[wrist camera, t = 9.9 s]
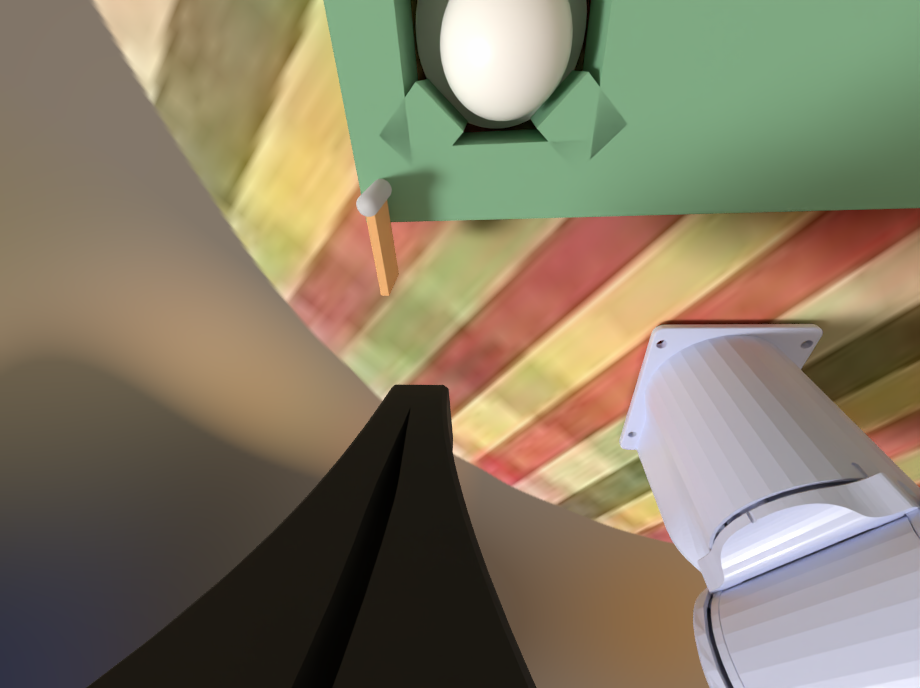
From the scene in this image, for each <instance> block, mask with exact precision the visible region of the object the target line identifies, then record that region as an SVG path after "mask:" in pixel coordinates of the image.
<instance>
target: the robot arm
mask: <svg viewBox="0 0 920 688" xmlns="http://www.w3.org/2000/svg"><path fill="white" fill-rule="evenodd" d="M822 334H823V330H822V329H821V328H820V327H818V326H817V325H815V324H671V325H660V326H657V327H656V328H655V329H654V330H653V331H652V334H651V337H650V340H649V344H648V347H647V350H646V354H645V357H644V360H643V364H642V367H641V370H640V374H639V377H638V380H637V384H636V387H635V390H634V394H633V397H632V400H631V404H630V407H629V410H628V414H627V417H626V420H625V424H624V427H623V430H622V434H621V437H620V440H619V443H620V446H621V447H622V448H623V449H627V450H637V452H638V454H639V457H640V460H641V462H642V465H643V468H644V470H645V473H646V476H647V478H648V481H649V484H650V486H651V489H652V492H653V494H654V497H655V500H656V502H657V505H658V508H659V510H660V513H661V516H662V518H663V521H664V524H665V526H666V529H667V531H668V533H669V536H670V538H671V539H672V541H673V543H674V544H675V546H676V547H677V548H678V550H679V551H680V552H681V553H682V554H683V556H684V557H685V558H686V559H687V560H688V561H689V562H690V563H691V564H692V565H693V566H695V567H696V568H697V569H698V570H699V571H701V572H702V575H703V577H704V580H705V582H706V584H707V587H708V588H706V589H705V590H704V591H702V592H701V593H700V595H699V596H698V598H697V600H696V602H695V606H694V611H693V612H694V614H693V615H694V616H693V625H694V633H695V640H696V644H697V649H698V654H699V658H700V661H701V665H702V668H703V671H704V674H705V677H706V679H707V682H708V684H709V687H710V688H920V488H919V487H918V486H917V485H916V484H915V483H914V482H913V481H912V480H911V479H910V478H909V477H908V476H907V475H906V474H905V473H904V472H903V471H902V470H901V469H900V468H899V467H898V466H897V465H896V464H895V463H894V462H893V461H892V460H891V459H890V458H889V457H888V456H887V455H886V454H885V453H884V452H883V451H882V450H881V449H880V448H879V447H878V446H877V445H876V444H875V443H874V442H873V441H872V440H871V439H870V438H869V437H868V436H867V435H866V434H865V433H864V432H863V431H862V430H861V429H860V428H859V427H858V426H857V425H856V424H855V423H854V422H853V421H852V420H851V419H850V418H849V417H848V416H847V415H846V414H845V413H844V412H843V411H842V410H841V409H840V408H839V407H838V406H837V405H836V404H835V403H834V402H833V401H832V400H831V399H830V398H829V397H828V396H827V395H826V394H825V393H824V392H823V391H822V390H821V389H820V388H819V387H818V386H817V385H816V384H815V383H814V382H813V381H812V380H811V379H810V378H809V377H808V376H807V375H806V374H805V373H804V372H803V371H802V370H801V369H802V367H803V365H804V364H805V362H806V361H807V359H808V357H809V356H810V354H811V352H812V351H813V349H814V348H815V346H816V344H817V343H818V341H819V340H820V338H821V336H822ZM661 340H664V341H663V342H662V343H661V344H657V343H658V342H659V341H661ZM805 341H806V342H805ZM803 342H804V343H803ZM452 450H453V433H452V422H451V411H450V400H449V389H448V388H447V387H445V386H444V385H394V386H393V387H392V388H391V390H390V391H389V393H388V394H387V395H386V397H385V398H384V400H383V401H382V403H381V404H380V406H379V407H378V409H377V410H376V411H375V413H374V414H373V416H372V417H371V418H370V420H369V421H368V423H367V424H366V425H365V427H364V428H363V429H362V431H361V432H360V433H359V434H358V436H357V437H356V438H355V440H354V441H353V442H352V444H351V445H350V446H349V448H348V449H347V450H346V451H345V452H344V454H343V455H342V456H341V458H340V459H339V460H338V461H337V462H336V464H335V465H334V466H333V467H332V468H331V469H330V470H329V472H328V473H327V474H326V475H325V476H324V477H323V479H322V480H321V481H320V482H319V483H318V485H317V486H316V487H315V488H314V489H313V490H312V491H311V492H310V493H309V495H308V496H307V497H306V498H305V499H304V500H303V501H302V502H301V503H300V504H299V505H298V506H297V508H296V509H295V510H294V511H293V512H292V513H291V514H290V515H289V516H288V517H287V518H286V519H285V520H284V521H283V522H282V523H281V524H280V525H279V526H278V527H277V528H276V529H275V530H274V531H273V532H272V533H271V534H270V535H269V536H268V537H267V538H266V539H264V540H263V541H262V542H261V543H260V544H259V545H258V546H257V547H256V548H255V549H254V550H253V551H252V552H251V553H250V554H249V555H248V556H247V557H246V558H244V559H243V560H242V561H241V562H240V563H239V564H238V565H237V566H236V567H235V568H234V569H233V570H231V571H230V572H229V573H228V574H227V575H226V576H225V577H223V578H222V579H221V580H220V581H219V582H218V583H217V584H215V585H214V586H213V587H212V588H211V589H210V590H208V591H207V592H206V593H205V594H203V595H202V596H201V597H200V598H199V599H198V600H196V601H195V602H194V603H193V604H192V605H191V606H189V607H188V608H187V609H186V610H184V611H183V612H182V613H181V614H180V615H179V616H177V618H175V619H174V620H173V621H171V622H170V623H169V624H168V625H167V626H165V627H164V628H163V629H162V630H161V631H159V632H158V633H157V634H156V635H154V636H153V637H152V638H151V639H149V640H148V641H147V642H146V643H144V644H143V645H142V646H140V647H139V648H138V649H137V650H135V651H134V652H133V653H131V654H130V655H129V656H127V657H126V658H125V659H123V660H122V661H121V662H119V663H118V664H117V665H116V666H114V667H113V668H112V669H110V670H109V671H108V672H107V673H105V674H104V675H102V676H101V677H100V678H99V679H97V680H96V681H95V682H93V683H92V684H91V685H89V686H88V687H87V688H536V686H535V683H534V681H533V679H532V677H531V674H530V672H529V670H528V668H527V665H526V663H525V661H524V658H523V656H522V654H521V651H520V649H519V647H518V644H517V642H516V640H515V637H514V635H513V633H512V631H511V628H510V626H509V623H508V621H507V618H506V615H505V613H504V611H503V608H502V605H501V603H500V600H499V598H498V595H497V593H496V590H495V588H494V585H493V583H492V580H491V578H490V575H489V573H488V570H487V567H486V565H485V562H484V559H483V556H482V553H481V550H480V547H479V545H478V542H477V539H476V536H475V533H474V530H473V527H472V524H471V521H470V517H469V514H468V511H467V508H466V504H465V501H464V498H463V494H462V490H461V486H460V483H459V479H458V475H457V471H456V466H455V462H454V457H453V452H452Z"/></svg>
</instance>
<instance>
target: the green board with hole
mask: <svg viewBox="0 0 920 688" xmlns="http://www.w3.org/2000/svg"><path fill="white" fill-rule="evenodd" d="M448 2H449V0H418V3H417V9H416V41H417V48H418V53H419V57H420V61H421V65H422V68H423V71H424V73H425V76H426V78H427V79H425V80H421V81H418V73H417V63H416V52H415V41H414V31H413V20H412V9H411V0H324V5H325V10H326V16H327V21H328V26H329V31H330V36H331V41H332V46H333V52H334V57H335V62H336V67H337V72H338V77H339V82H340V88H341V93H342V98H343V103H344V108H345V113H346V119H347V124H348V129H349V134H350V139H351V144H352V149H353V155H354V160H355V165H356V170H357V175H358V180H359V185H360V191H361V196H360V197H359V198H358V199H357V203H356V204H357V209H358V210H359V212H360V213H361V214H362V215H364V216H366V222H367V225H368V230H369V235H370V240H371V245H372V250H373V256H374V261H375V266H376V271H377V276H378V281H379V287H380V292H381V296H389V295H390V293H391V290H392V288H393V286H394V284H395V281H396V279H397V277H398V275H399V273H398V266H397V260H396V254H395V247H394V241H393V234H392V228H391V222H413V221H451V220H488V219H526V218H563V217H601V216H638V215H676V214H713V213H751V212H788V211H826V210H863V209H901V208H920V0H591V3H590V12H589V21H588V29H587V38H586V47H585V56H584V64H583V71H574V69H575V66H576V64H577V61H578V58H579V56H580V53H581V49H582V45H583V41H584V35H585V29H586V18H587V4H586V0H568V2H569V5H570V10H571V15H572V24H573V39H572V47H571V53H570V57H569V61H568V64H567V67H566V70H565V72H564V74H563V76H562V78H561V80H560V82H559V84H558V86H557V87H556V89H555V90H554V92H553V93H552V94H551V96H550V97H549V98H548V99H547V100H546V101H545V102H544V103H543V104H542V105H541V106H540V107H538V108H537V109H536V110H534V111H533V112H531V113H529V114H528V115H526V116H524V117H521V118H518V119H515V120H510V121H494V120H488V119H485V118H483V117H480V116H478V115H476V114H474V113H473V112H471V111H470V110H469V109H467V108H466V107H465V106H464V105H463V104H462V103H461V102H460V101H459V100H458V98H457V97H456V96H455V94H454V93H453V91H452V89H451V87H450V86H449V84H448V81H447V78H446V76H445V73H444V70H443V65H442V61H441V52H440V34H441V26H442V21H443V17H444V13H445V10H446V7H447V5H448ZM530 119H531V120H532V122H533V123H534V125H535V126H536V128H537V129H526V130H505V131H483V132H464V129H465V127H466V124H467V122H468V123H470V124H473V125H476V126H479V127H484V128H495V129H499V128H508V127H512V126H515V125H519V124H521V123H523V122H526V121H528V120H530Z"/></svg>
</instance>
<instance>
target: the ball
mask: <svg viewBox="0 0 920 688" xmlns="http://www.w3.org/2000/svg"><path fill="white" fill-rule="evenodd" d="M572 39H573V24H572V15H571V10H570V5H569V2H568V0H449V2H448V5H447V7H446V10H445V13H444V17H443V21H442V26H441V34H440V52H441V61H442V65H443V70H444V73H445V76H446V78H447V81H448V84H449V86H450V87H451V89H452V91H453V93H454V94H455V96H456V97H457V98H458V100H459V101H460V102H461V103H462V104H463V105H464V106H465V107H466V108H467V109H469V110H470V111H471V112H473V113H474V114H476V115H478V116H480V117H483V118H485V119H488V120H494V121H510V120H515V119H518V118H521V117H524V116H526V115H528V114H529V113H531V112H533V111H534V110H536V109H537V108H538V107H540V106H541V105H542V104H543V103H544V102H545V101H546V100H547V99H548V98H549V97H550V96H551V94H552V93H553V92H554V90H555V89H556V87H557V86H558V84H559V82H560V80H561V78H562V76H563V74H564V72H565V70H566V67H567V64H568V61H569V57H570V53H571V47H572Z"/></svg>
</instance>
